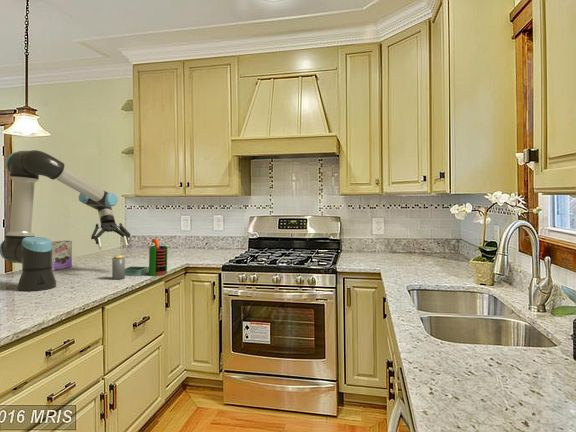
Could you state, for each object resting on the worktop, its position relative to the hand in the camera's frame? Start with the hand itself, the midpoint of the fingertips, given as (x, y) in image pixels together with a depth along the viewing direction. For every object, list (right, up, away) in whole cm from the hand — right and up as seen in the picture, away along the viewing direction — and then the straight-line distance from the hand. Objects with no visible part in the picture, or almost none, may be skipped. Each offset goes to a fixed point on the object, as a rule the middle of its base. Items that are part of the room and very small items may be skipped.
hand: (113, 247), depth 211 cm
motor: (+22, -16, +5) cm, 28 cm away
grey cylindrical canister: (+6, -16, -8) cm, 19 cm away
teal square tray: (+10, -15, +6) cm, 19 cm away
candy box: (-40, -14, +16) cm, 45 cm away
